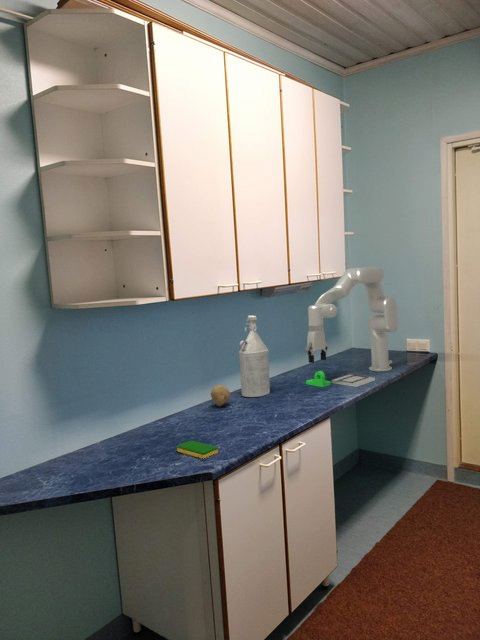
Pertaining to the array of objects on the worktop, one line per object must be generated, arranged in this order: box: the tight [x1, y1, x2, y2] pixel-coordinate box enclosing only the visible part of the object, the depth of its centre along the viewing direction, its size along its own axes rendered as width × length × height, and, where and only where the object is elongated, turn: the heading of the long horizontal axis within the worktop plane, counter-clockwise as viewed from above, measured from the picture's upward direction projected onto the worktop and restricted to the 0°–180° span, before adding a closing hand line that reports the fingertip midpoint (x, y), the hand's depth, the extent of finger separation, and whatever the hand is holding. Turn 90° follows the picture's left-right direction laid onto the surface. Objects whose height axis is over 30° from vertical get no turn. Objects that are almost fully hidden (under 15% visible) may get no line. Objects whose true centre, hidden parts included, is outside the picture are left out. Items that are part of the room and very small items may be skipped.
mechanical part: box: [305, 370, 332, 388], centre depth 266 cm, size 12×6×8 cm, turn 38°
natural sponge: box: [210, 384, 231, 407], centre depth 237 cm, size 9×9×10 cm
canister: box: [238, 315, 271, 398], centre depth 253 cm, size 13×17×40 cm
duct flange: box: [331, 374, 376, 388], centre depth 267 cm, size 16×16×2 cm
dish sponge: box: [176, 440, 219, 460], centre depth 179 cm, size 7×14×2 cm, turn 48°
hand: (317, 361), depth 266 cm, fingers open, 9 cm apart
